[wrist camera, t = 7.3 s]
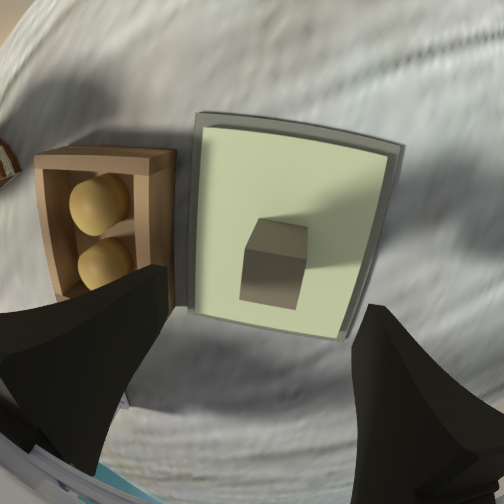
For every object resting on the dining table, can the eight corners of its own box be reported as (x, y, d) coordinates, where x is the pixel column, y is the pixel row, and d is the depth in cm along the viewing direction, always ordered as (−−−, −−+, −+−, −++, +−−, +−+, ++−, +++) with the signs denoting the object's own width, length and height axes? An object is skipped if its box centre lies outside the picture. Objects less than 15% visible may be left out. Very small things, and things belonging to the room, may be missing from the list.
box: (175, 306, 19) (156, 335, 16) (80, 281, 20) (57, 302, 17) (176, 149, 15) (149, 158, 12) (66, 146, 16) (33, 155, 13)
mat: (342, 339, 18) (343, 342, 18) (189, 310, 19) (187, 313, 19) (399, 145, 13) (400, 146, 12) (197, 112, 14) (195, 112, 13)
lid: (335, 331, 18) (338, 382, 14) (198, 306, 18) (174, 350, 15) (384, 155, 13) (412, 170, 9) (207, 126, 14) (172, 131, 10)
